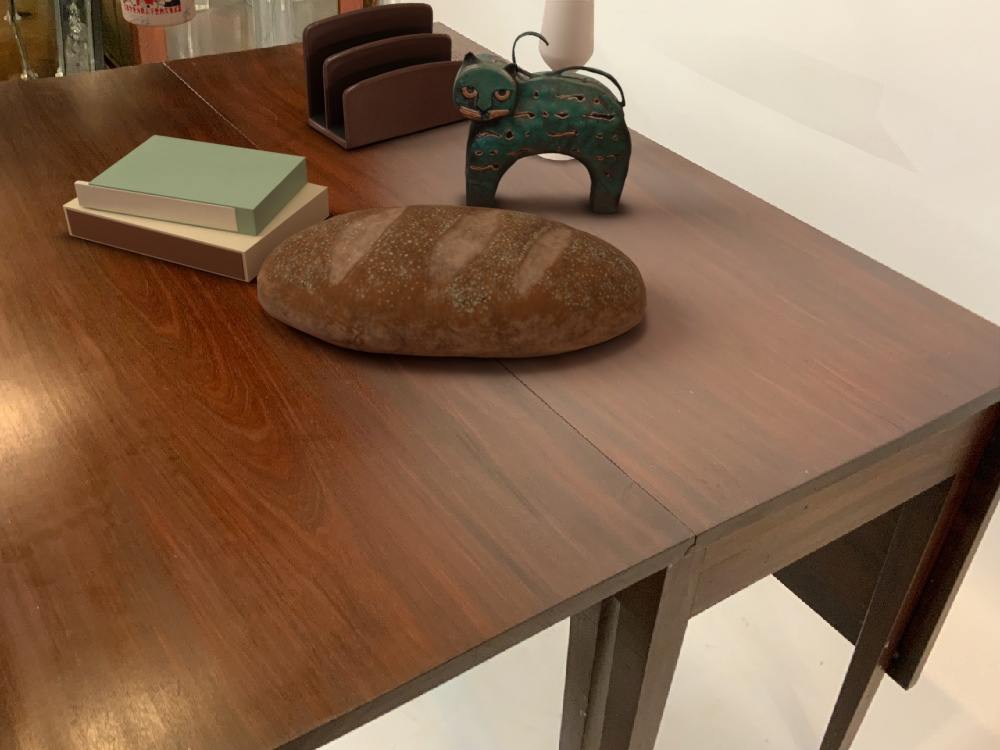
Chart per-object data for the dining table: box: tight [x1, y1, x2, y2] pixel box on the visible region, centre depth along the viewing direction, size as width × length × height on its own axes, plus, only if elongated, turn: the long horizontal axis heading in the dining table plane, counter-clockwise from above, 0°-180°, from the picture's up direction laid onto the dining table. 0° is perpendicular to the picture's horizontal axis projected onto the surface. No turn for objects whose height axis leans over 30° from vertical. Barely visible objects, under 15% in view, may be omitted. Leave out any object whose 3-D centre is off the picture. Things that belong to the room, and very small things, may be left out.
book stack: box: [62, 134, 330, 283], centre depth 104 cm, size 22×16×6 cm
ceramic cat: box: [453, 30, 633, 214], centre depth 107 cm, size 20×6×20 cm, turn 91°
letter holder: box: [301, 2, 468, 151], centre depth 126 cm, size 10×20×14 cm, turn 129°
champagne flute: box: [537, 0, 595, 161], centre depth 119 cm, size 7×7×24 cm
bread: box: [256, 203, 648, 358], centre depth 92 cm, size 22×37×8 cm, turn 90°
